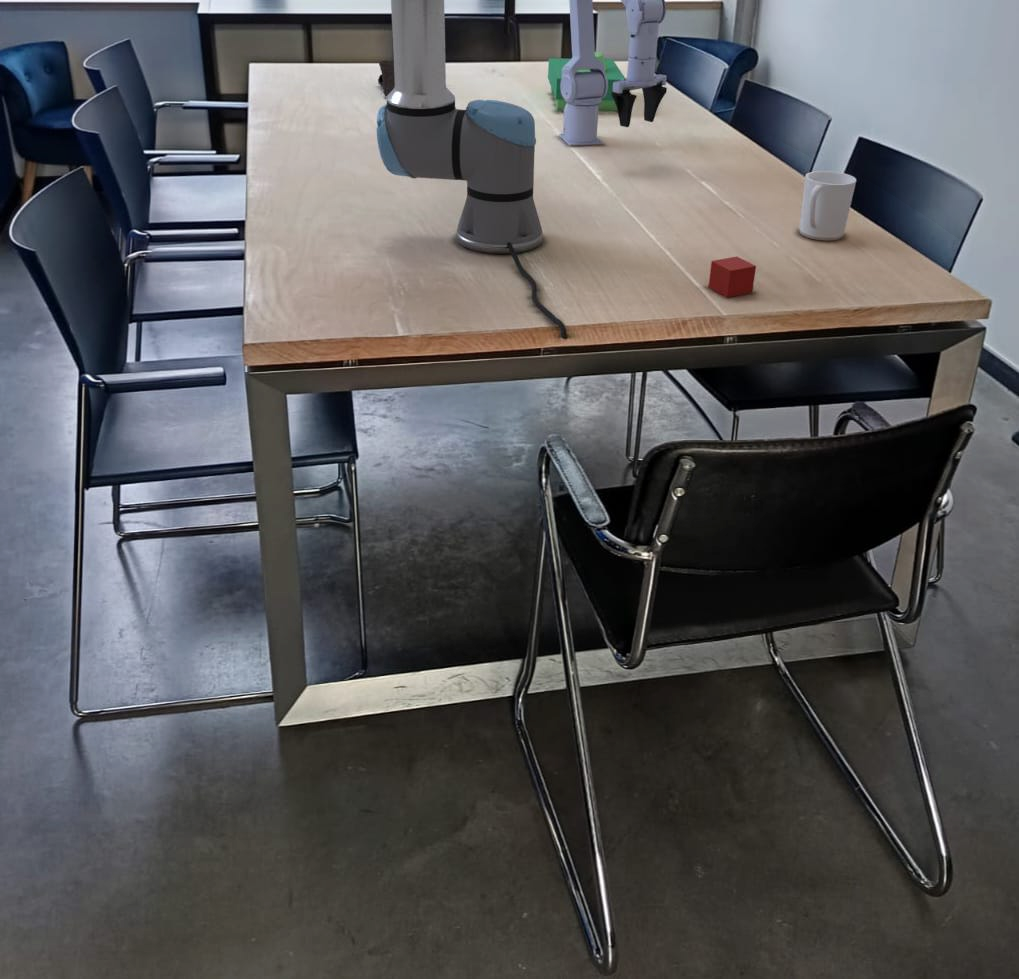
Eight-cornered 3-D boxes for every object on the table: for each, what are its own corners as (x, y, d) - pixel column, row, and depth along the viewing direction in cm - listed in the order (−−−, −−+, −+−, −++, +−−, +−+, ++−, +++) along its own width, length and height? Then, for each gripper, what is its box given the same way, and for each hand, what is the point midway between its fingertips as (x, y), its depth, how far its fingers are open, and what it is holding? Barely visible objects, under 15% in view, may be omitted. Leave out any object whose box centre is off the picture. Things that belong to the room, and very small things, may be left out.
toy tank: (610, 40, 305) (627, 64, 275) (607, 86, 311) (623, 114, 282) (547, 38, 304) (557, 62, 274) (545, 84, 310) (555, 113, 281)
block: (752, 292, 177) (756, 265, 174) (726, 297, 174) (730, 270, 172) (733, 282, 180) (736, 256, 178) (708, 287, 178) (711, 260, 176)
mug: (809, 222, 208) (818, 168, 202) (854, 233, 203) (864, 177, 197) (782, 236, 200) (791, 180, 195) (827, 247, 195) (838, 190, 190)
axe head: (443, 87, 294) (392, 77, 287) (436, 115, 299) (385, 106, 292) (421, 62, 307) (371, 52, 300) (414, 89, 311) (365, 80, 304)
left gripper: (540, -85, 214) (536, 32, 225) (415, -89, 216) (417, 26, 227) (535, -82, 207) (532, 38, 218) (406, -86, 210) (409, 32, 221)
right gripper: (632, 63, 222) (627, 132, 229) (679, 56, 230) (673, 122, 237) (607, 58, 226) (603, 125, 233) (654, 51, 235) (649, 116, 242)
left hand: (473, 32), depth 223 cm, fingers open, 13 cm apart
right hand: (636, 123), depth 236 cm, fingers open, 7 cm apart
